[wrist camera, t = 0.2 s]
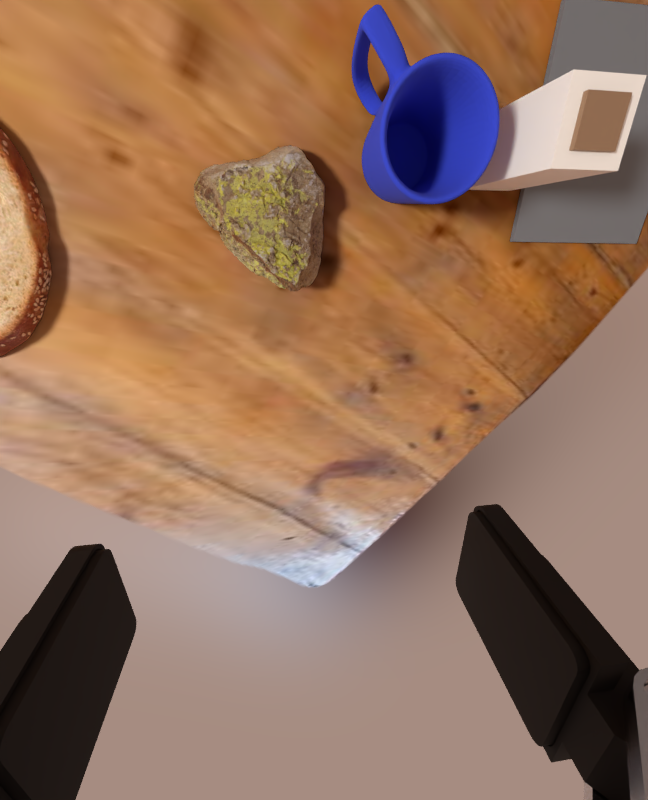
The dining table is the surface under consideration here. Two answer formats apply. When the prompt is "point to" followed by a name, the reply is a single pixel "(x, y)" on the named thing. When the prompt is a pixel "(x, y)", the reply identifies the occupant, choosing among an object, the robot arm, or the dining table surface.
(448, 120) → the mug
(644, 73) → the mat
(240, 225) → the rock
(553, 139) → the block
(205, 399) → the dining table surface
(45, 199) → the dining table surface
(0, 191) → the wood slice
